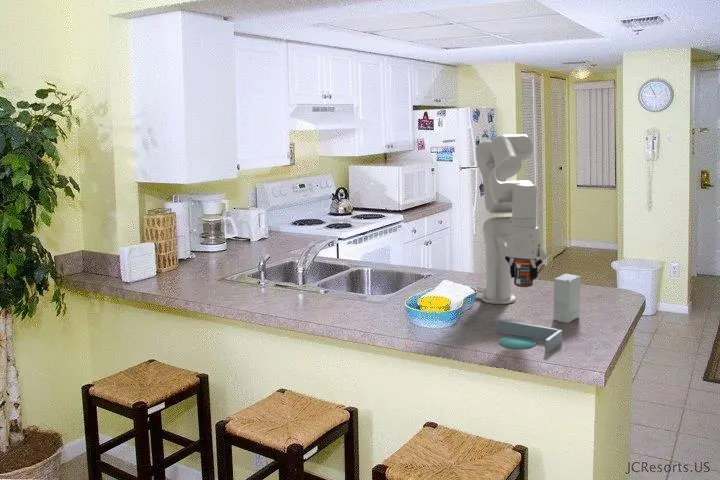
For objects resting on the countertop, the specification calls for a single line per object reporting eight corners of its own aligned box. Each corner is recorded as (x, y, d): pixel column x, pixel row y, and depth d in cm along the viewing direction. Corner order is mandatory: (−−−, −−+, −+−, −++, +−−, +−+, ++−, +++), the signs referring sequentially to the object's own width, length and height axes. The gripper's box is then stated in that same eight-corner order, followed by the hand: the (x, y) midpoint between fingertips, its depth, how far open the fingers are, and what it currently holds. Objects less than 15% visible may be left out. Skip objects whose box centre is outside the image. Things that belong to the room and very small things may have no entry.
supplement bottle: (519, 288, 218) (520, 253, 216) (510, 284, 224) (510, 250, 222) (536, 286, 220) (536, 251, 218) (527, 282, 225) (527, 248, 223)
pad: (493, 344, 211) (493, 344, 211) (508, 335, 220) (508, 334, 220) (526, 351, 205) (526, 350, 205) (541, 340, 213) (541, 339, 213)
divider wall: (482, 341, 215) (482, 328, 214) (498, 331, 224) (498, 319, 223) (548, 353, 202) (548, 340, 202) (562, 342, 211) (562, 329, 211)
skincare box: (564, 314, 239) (564, 272, 237) (580, 317, 235) (581, 275, 232) (552, 320, 233) (553, 277, 231) (569, 323, 229) (570, 280, 226)
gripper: (493, 222, 220) (493, 277, 223) (545, 226, 210) (545, 283, 213) (503, 219, 226) (503, 272, 229) (554, 222, 216) (554, 278, 219)
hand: (523, 277), depth 221 cm, fingers closed on supplement bottle, 6 cm apart
